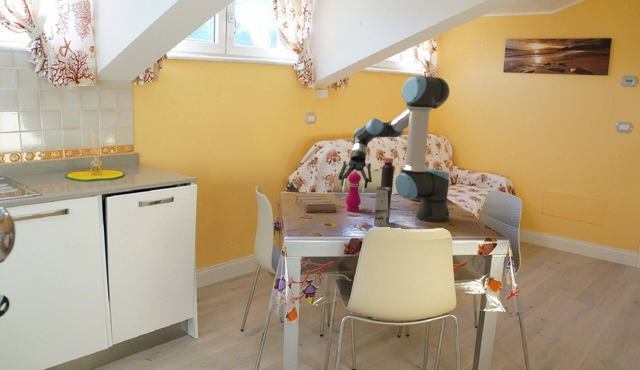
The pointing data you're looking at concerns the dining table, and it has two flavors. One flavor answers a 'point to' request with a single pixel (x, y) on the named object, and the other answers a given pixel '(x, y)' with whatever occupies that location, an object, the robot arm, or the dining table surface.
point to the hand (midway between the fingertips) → (353, 191)
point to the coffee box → (382, 206)
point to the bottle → (387, 173)
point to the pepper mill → (353, 192)
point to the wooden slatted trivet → (315, 203)
